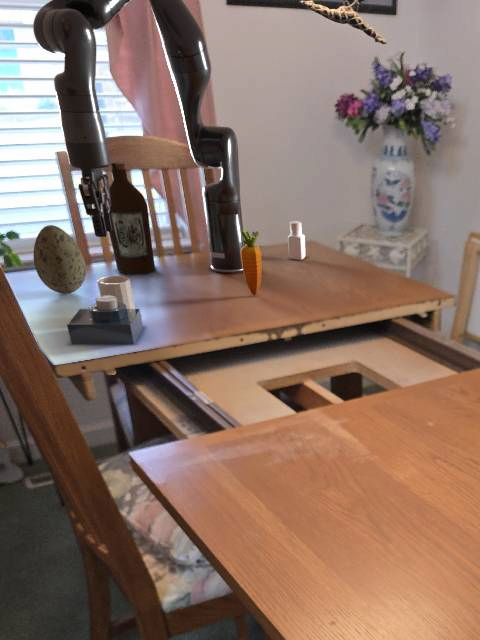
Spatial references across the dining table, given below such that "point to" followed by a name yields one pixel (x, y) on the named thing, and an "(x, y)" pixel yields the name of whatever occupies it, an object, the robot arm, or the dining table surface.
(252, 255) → the carrot
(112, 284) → the cup
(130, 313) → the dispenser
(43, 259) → the decorative egg
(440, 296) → the dining table surface
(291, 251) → the pepper shaker
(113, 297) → the pump
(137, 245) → the olive oil
